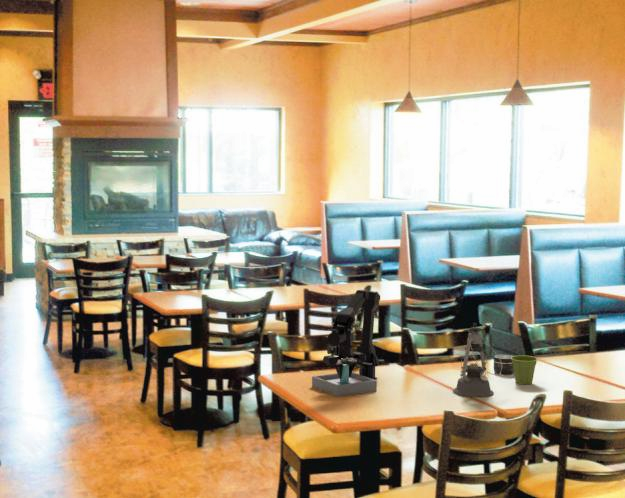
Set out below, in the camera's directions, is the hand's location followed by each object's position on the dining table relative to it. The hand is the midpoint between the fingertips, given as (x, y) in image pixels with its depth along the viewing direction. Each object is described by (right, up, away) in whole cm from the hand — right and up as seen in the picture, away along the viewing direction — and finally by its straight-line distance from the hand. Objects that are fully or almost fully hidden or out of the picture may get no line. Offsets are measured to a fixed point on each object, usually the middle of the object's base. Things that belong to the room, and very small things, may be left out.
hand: (344, 377), depth 419 cm
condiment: (+7, -1, +47) cm, 47 cm away
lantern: (+56, -6, -5) cm, 57 cm away
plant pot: (+80, -4, +15) cm, 82 cm away
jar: (+76, -3, +36) cm, 84 cm away
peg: (0, -2, 0) cm, 2 cm away
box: (0, -5, 0) cm, 5 cm away
